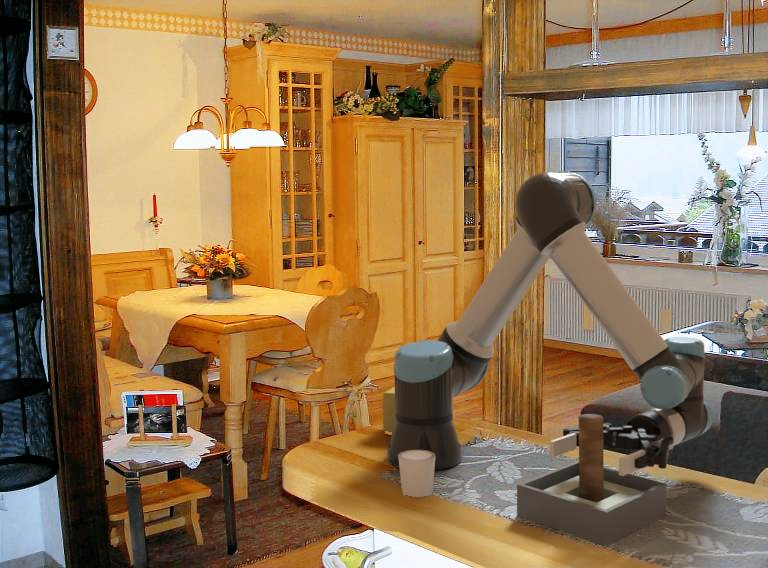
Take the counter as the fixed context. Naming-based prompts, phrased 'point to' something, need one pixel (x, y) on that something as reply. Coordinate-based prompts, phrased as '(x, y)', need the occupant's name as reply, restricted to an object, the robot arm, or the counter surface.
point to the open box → (591, 504)
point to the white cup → (417, 472)
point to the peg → (591, 457)
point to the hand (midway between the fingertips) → (585, 458)
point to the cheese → (389, 410)
